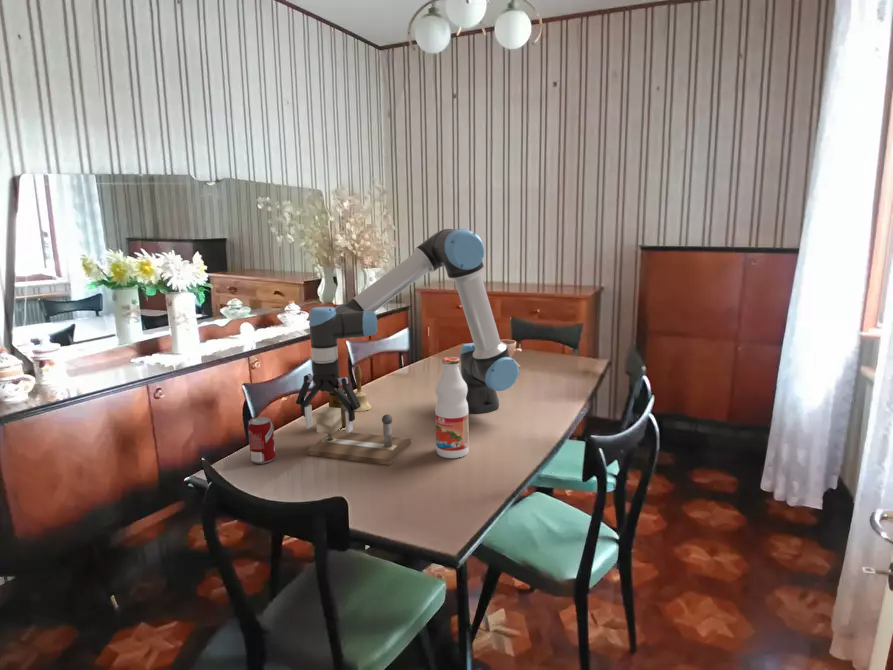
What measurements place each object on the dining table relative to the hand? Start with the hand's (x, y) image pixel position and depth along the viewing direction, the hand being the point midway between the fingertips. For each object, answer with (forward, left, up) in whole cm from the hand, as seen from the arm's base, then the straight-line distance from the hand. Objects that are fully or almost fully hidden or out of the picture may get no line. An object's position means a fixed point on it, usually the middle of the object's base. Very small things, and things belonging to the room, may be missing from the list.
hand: (329, 429), depth 176 cm
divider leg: (0, 0, -3) cm, 3 cm away
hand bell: (+7, -34, -6) cm, 35 cm away
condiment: (+5, -15, -6) cm, 17 cm away
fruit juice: (-37, -5, -5) cm, 38 cm away
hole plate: (-10, 0, -5) cm, 11 cm away
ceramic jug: (-31, -91, -6) cm, 96 cm away
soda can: (+13, +15, -5) cm, 21 cm away
